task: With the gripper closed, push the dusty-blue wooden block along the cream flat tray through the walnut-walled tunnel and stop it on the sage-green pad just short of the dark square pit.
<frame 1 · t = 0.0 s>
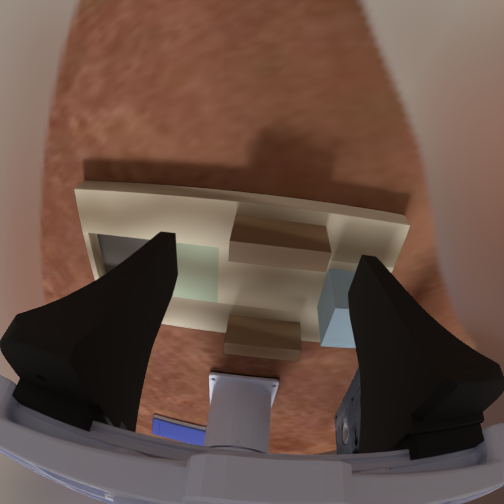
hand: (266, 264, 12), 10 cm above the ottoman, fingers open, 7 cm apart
blue block: (347, 291, 24), point 1 cm above the ottoman, touching cream flat tray
blue book: (189, 428, 48), on the ottoman
cream flat tray: (233, 266, 26), on the ottoman
vhs cassette tape: (359, 383, 35), on the ottoman
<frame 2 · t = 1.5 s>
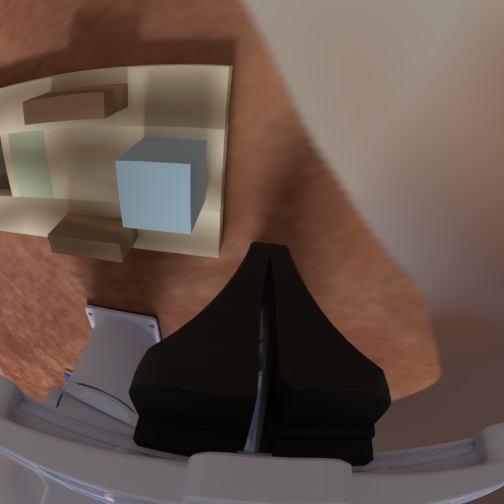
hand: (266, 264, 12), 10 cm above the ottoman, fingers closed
blue block: (174, 169, 19), point 1 cm above the ottoman, touching cream flat tray
cream flat tray: (69, 157, 20), on the ottoman
vhs cassette tape: (261, 333, 30), on the ottoman
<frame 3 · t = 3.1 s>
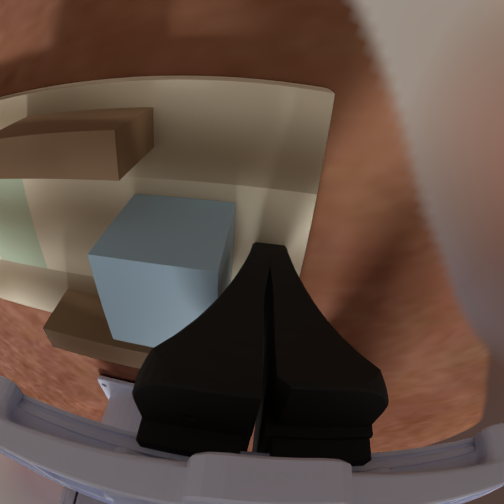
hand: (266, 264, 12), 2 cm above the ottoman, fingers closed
blue block: (184, 241, 13), point 2 cm above the ottoman, touching gripper
cream flat tray: (63, 211, 14), on the ottoman
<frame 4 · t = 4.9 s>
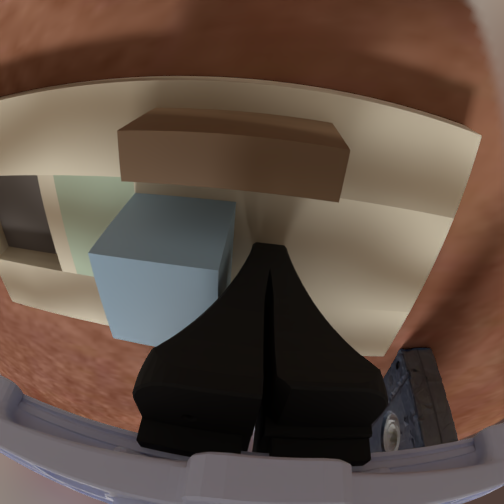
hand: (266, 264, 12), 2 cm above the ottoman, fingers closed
blue block: (184, 240, 13), point 2 cm above the ottoman, touching cream flat tray, gripper
cream flat tray: (171, 221, 14), on the ottoman
vhs cassette tape: (376, 406, 24), on the ottoman
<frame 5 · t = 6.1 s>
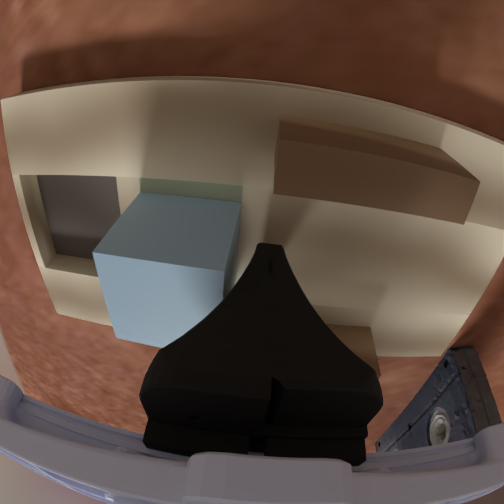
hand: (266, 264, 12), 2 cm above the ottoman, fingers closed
blue block: (189, 240, 13), point 2 cm above the ottoman, touching cream flat tray, gripper
cream flat tray: (264, 230, 14), on the ottoman
vhs cassette tape: (416, 403, 24), on the ottoman
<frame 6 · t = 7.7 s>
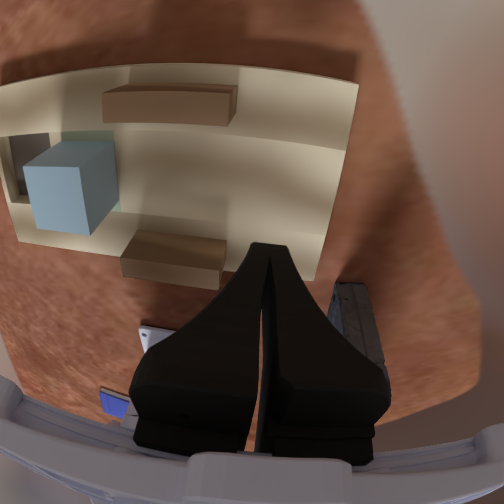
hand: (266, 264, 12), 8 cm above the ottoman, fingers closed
blue block: (89, 170, 18), point 1 cm above the ottoman, touching cream flat tray
blue book: (143, 407, 42), on the ottoman
cream flat tray: (140, 164, 19), on the ottoman
vhs cassette tape: (329, 350, 29), on the ottoman
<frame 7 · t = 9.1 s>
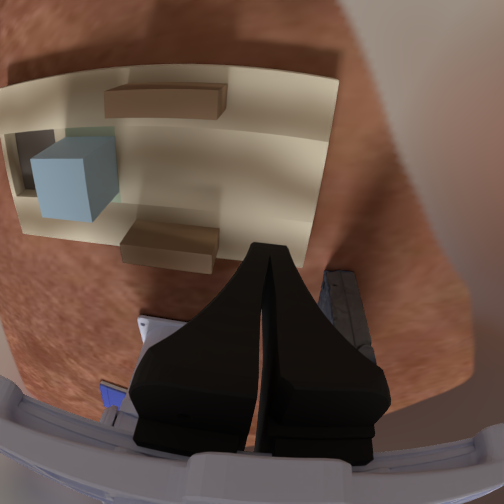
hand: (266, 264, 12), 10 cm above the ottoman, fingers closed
blue block: (91, 164, 19), point 1 cm above the ottoman, touching cream flat tray
blue book: (142, 401, 43), on the ottoman
cream flat tray: (139, 158, 20), on the ottoman
vhs cassette tape: (322, 339, 30), on the ottoman
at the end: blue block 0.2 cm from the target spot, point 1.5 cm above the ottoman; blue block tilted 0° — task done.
